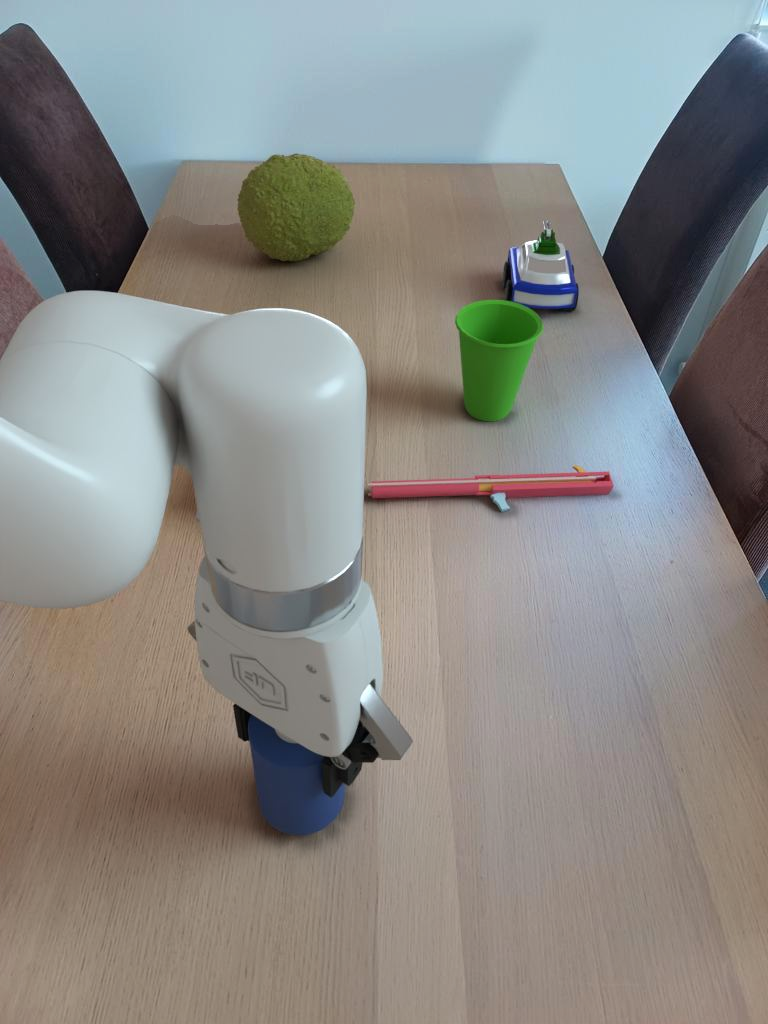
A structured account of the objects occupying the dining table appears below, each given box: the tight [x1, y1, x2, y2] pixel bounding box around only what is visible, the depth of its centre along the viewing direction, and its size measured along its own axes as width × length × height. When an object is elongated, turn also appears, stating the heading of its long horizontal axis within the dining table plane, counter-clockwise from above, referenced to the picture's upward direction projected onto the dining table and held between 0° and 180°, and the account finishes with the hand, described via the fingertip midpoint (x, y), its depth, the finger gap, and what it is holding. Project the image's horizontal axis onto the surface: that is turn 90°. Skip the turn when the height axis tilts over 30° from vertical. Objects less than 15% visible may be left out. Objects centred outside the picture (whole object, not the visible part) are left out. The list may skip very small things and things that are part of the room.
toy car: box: [502, 220, 580, 312], centre depth 105 cm, size 9×12×10 cm
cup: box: [454, 299, 544, 422], centre depth 86 cm, size 9×9×11 cm
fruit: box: [237, 152, 356, 263], centre depth 112 cm, size 16×14×15 cm
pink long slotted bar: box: [367, 464, 614, 513], centre depth 79 cm, size 24×2×5 cm
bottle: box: [248, 714, 346, 836], centre depth 52 cm, size 6×6×11 cm
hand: (298, 748), depth 52 cm, fingers closed on bottle, 6 cm apart
